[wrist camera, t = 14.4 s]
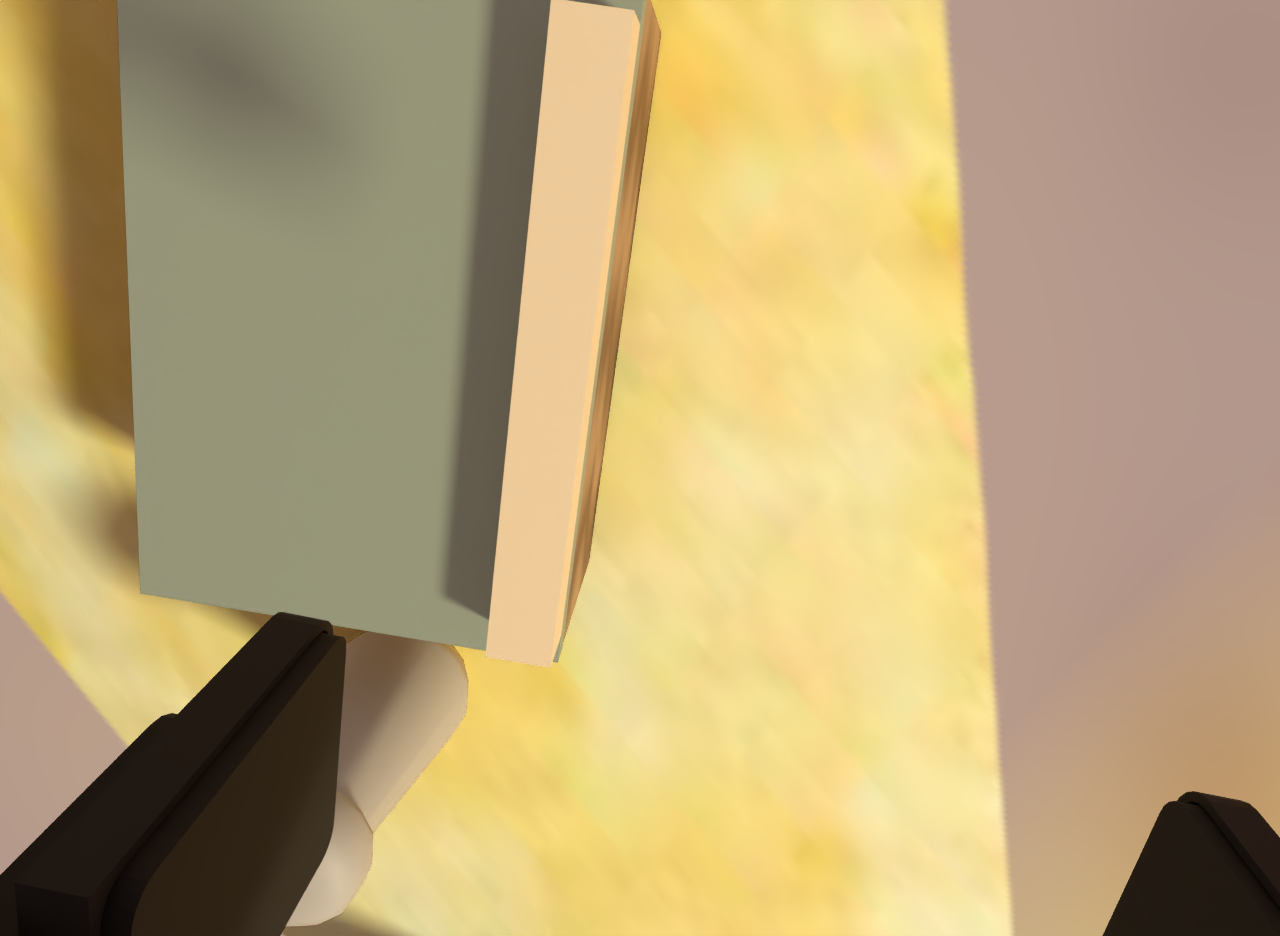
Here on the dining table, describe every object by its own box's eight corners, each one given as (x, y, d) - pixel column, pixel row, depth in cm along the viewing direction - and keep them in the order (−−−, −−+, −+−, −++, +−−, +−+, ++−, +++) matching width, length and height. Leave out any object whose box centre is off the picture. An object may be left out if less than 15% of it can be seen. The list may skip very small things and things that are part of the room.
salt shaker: (325, 657, 39) (148, 877, 27) (407, 576, 38) (260, 769, 25) (424, 741, 40) (298, 991, 28) (508, 666, 38) (414, 894, 26)
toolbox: (589, 560, 37) (562, 644, 30) (259, 506, 37) (160, 577, 30) (661, 33, 30) (647, -9, 24) (263, -26, 31) (140, -83, 24)
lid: (562, 647, 30) (546, 696, 27) (158, 580, 30) (101, 621, 27) (647, -11, 24) (640, -37, 21) (136, -85, 24) (59, -122, 21)
